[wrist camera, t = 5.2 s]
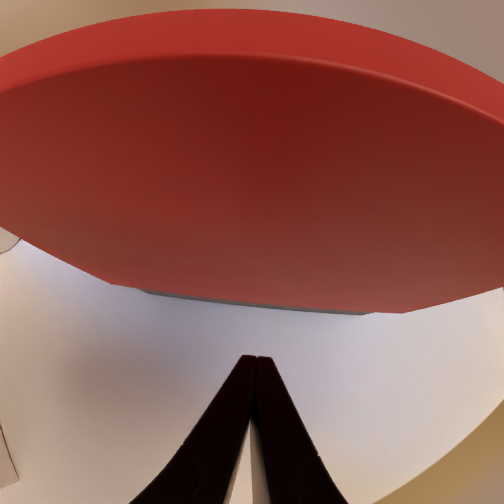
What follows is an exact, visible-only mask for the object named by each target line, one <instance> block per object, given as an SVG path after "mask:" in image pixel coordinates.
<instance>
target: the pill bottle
mask: <svg viewBox="0 0 504 504" xmlns="http://www.w3.org/2000/svg"><path fill="white" fill-rule="evenodd" d="M19 239H20V238H19V237H17V236H15V235H14V234H12V233H10V232H8V231H7V230H5V229H3V228H2V227H0V253H2V252H5V251H7V250H9V249H11V248H12V247H13V246H14V245H15V244H16V243H17V242H18V241H19Z"/></svg>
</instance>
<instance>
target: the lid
mask: <svg viewBox="0 0 504 504" xmlns="http://www.w3.org/2000/svg"><path fill="white" fill-rule="evenodd" d="M0 227H2V228H3V229H5V230H7V231H8V232H10V233H12V234H14V235H15V236H17V237H19V238H21V239H23V240H24V241H26V242H28V243H30V244H32V245H33V246H35V247H37V248H39V249H41V250H43V251H45V252H47V253H48V254H50V255H52V256H54V257H56V258H58V259H60V260H62V261H64V262H66V263H68V264H70V265H72V266H74V267H76V268H78V269H80V270H82V271H84V272H86V273H88V274H91V275H93V276H95V277H97V278H99V279H101V280H103V281H105V282H108V283H110V284H114V285H120V286H127V287H133V288H140V289H146V290H153V291H160V292H167V293H174V294H182V295H189V296H197V297H205V298H214V299H222V300H231V301H240V302H249V303H259V304H269V305H280V306H291V307H303V308H316V309H329V310H344V311H361V312H380V313H406V312H411V311H415V310H419V309H424V308H428V307H432V306H436V305H440V304H444V303H448V302H452V301H455V300H459V299H463V298H467V297H470V296H474V295H477V294H481V293H484V292H487V291H491V290H494V289H497V288H500V287H504V84H502V83H501V82H499V81H497V80H496V79H494V78H492V77H490V76H488V75H487V74H485V73H483V72H481V71H479V70H477V69H475V68H473V67H471V66H469V65H467V64H465V63H463V62H461V61H459V60H457V59H455V58H453V57H450V56H448V55H446V54H443V53H441V52H439V51H437V50H434V49H432V48H429V47H427V46H424V45H421V44H419V43H416V42H413V41H411V40H408V39H405V38H402V37H399V36H395V35H393V34H389V33H386V32H383V31H379V30H376V29H372V28H368V27H364V26H361V25H357V24H352V23H348V22H344V21H338V20H334V19H328V18H323V17H318V16H311V15H304V14H297V13H289V12H279V11H269V10H254V9H197V10H196V9H195V10H180V11H168V12H160V13H151V14H144V15H138V16H131V17H126V18H121V19H115V20H111V21H106V22H102V23H97V24H94V25H89V26H85V27H82V28H78V29H74V30H71V31H68V32H64V33H61V34H59V35H55V36H52V37H49V38H46V39H44V40H41V41H38V42H35V43H33V44H30V45H28V46H26V47H23V48H21V49H18V50H16V51H13V52H11V53H9V54H7V55H5V56H3V57H0Z"/></svg>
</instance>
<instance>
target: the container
mask: <svg viewBox="0 0 504 504" xmlns="http://www.w3.org/2000/svg"><path fill="white" fill-rule="evenodd" d="M17 481H18V477H17V474H16V472H15V469H14V467H13V464H12V461H11V459H10V456H9V453H8V450H7V447H6V444H5V441H4V438H3V435H2V432H1V428H0V489H3V488H5V487H7V486H9V485H11V484H13V483H15V482H17Z"/></svg>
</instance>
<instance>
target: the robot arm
mask: <svg viewBox="0 0 504 504" xmlns="http://www.w3.org/2000/svg"><path fill="white" fill-rule="evenodd" d="M249 422H250V449H251V471H252V492H253V504H348V503H347V501H346V500H345V498H344V497H343V496H342V494H341V493H340V491H339V490H338V488H337V487H336V485H335V484H334V482H333V480H332V479H331V477H330V475H329V473H328V471H327V470H326V468H325V466H324V464H323V462H322V460H321V458H320V456H318V452H317V450H316V448H315V446H314V444H313V442H312V440H311V438H310V436H309V434H308V432H307V430H306V428H305V426H304V424H303V422H302V420H301V418H300V416H299V414H298V411H297V409H296V407H295V405H294V403H293V401H292V399H291V397H290V395H289V393H288V391H287V389H286V386H285V384H284V382H283V380H282V378H281V376H280V374H279V372H278V370H277V367H276V365H275V363H274V361H273V359H272V358H271V357H264V356H258V357H257V358H256V356H253V355H242V356H241V357H240V359H239V360H238V362H237V363H236V365H235V366H234V368H233V370H232V371H231V373H230V374H229V376H228V377H227V379H226V380H225V382H224V383H223V385H222V386H221V388H220V389H219V391H218V392H217V394H216V395H215V397H214V398H213V400H212V401H211V403H210V404H209V406H208V407H207V409H206V410H205V412H204V413H203V415H202V416H201V418H200V419H199V421H198V422H197V424H196V425H195V426H194V428H193V429H192V431H191V432H190V434H189V435H188V437H187V438H186V439H185V441H184V442H183V445H181V446H180V448H179V449H178V450H177V452H176V453H175V455H174V456H173V457H172V459H171V460H170V461H169V462H168V464H167V465H166V466H165V467H164V469H163V470H162V471H161V472H160V473H159V474H158V475H157V476H156V477H155V479H154V480H153V481H152V482H151V483H150V484H149V485H148V486H147V487H146V488H145V489H144V490H143V491H142V492H141V493H139V494H138V495H137V496H136V497H135V498H134V499H133V500H132V501H131V502H130V503H129V504H229V501H230V497H231V494H232V490H233V486H234V483H235V479H236V475H237V471H238V467H239V464H240V460H241V456H242V452H243V448H244V444H245V440H246V436H247V432H248V427H249Z"/></svg>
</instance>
